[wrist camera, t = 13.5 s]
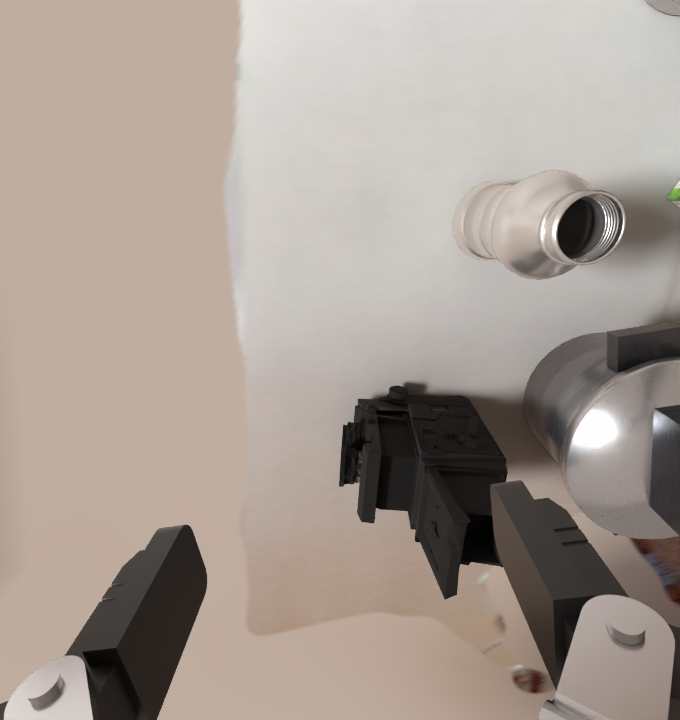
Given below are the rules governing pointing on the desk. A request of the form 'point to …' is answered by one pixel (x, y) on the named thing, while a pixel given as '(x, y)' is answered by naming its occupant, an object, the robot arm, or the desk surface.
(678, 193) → the syrup box
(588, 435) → the lid
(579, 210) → the plastic bottle
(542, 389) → the pot
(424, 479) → the camera
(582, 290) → the desk surface
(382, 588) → the desk surface
